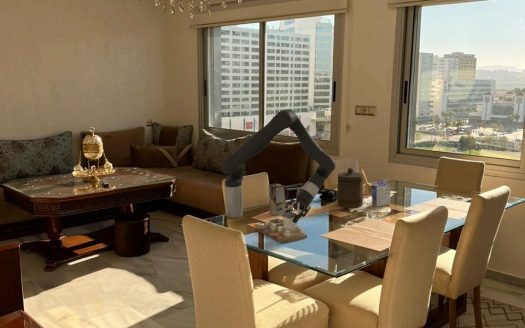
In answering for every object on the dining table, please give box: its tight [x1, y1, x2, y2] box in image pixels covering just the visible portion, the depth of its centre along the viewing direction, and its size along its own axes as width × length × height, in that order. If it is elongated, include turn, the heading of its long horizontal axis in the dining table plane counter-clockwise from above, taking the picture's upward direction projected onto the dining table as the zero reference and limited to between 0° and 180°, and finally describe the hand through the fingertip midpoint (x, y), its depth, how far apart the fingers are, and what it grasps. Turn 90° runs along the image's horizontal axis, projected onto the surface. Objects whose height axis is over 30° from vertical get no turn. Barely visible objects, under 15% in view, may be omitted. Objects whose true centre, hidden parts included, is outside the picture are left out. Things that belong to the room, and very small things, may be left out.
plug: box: [282, 211, 297, 230], centre depth 231 cm, size 4×4×10 cm
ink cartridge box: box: [371, 179, 392, 208], centre depth 280 cm, size 10×6×14 cm, turn 112°
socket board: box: [255, 217, 308, 244], centre depth 236 cm, size 24×14×4 cm, turn 30°
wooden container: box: [336, 167, 364, 209], centre depth 282 cm, size 15×15×22 cm
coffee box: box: [268, 183, 287, 217], centre depth 269 cm, size 9×6×16 cm
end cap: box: [318, 187, 337, 203], centre depth 294 cm, size 10×7×7 cm
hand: (288, 219), depth 230 cm, fingers open, 8 cm apart
